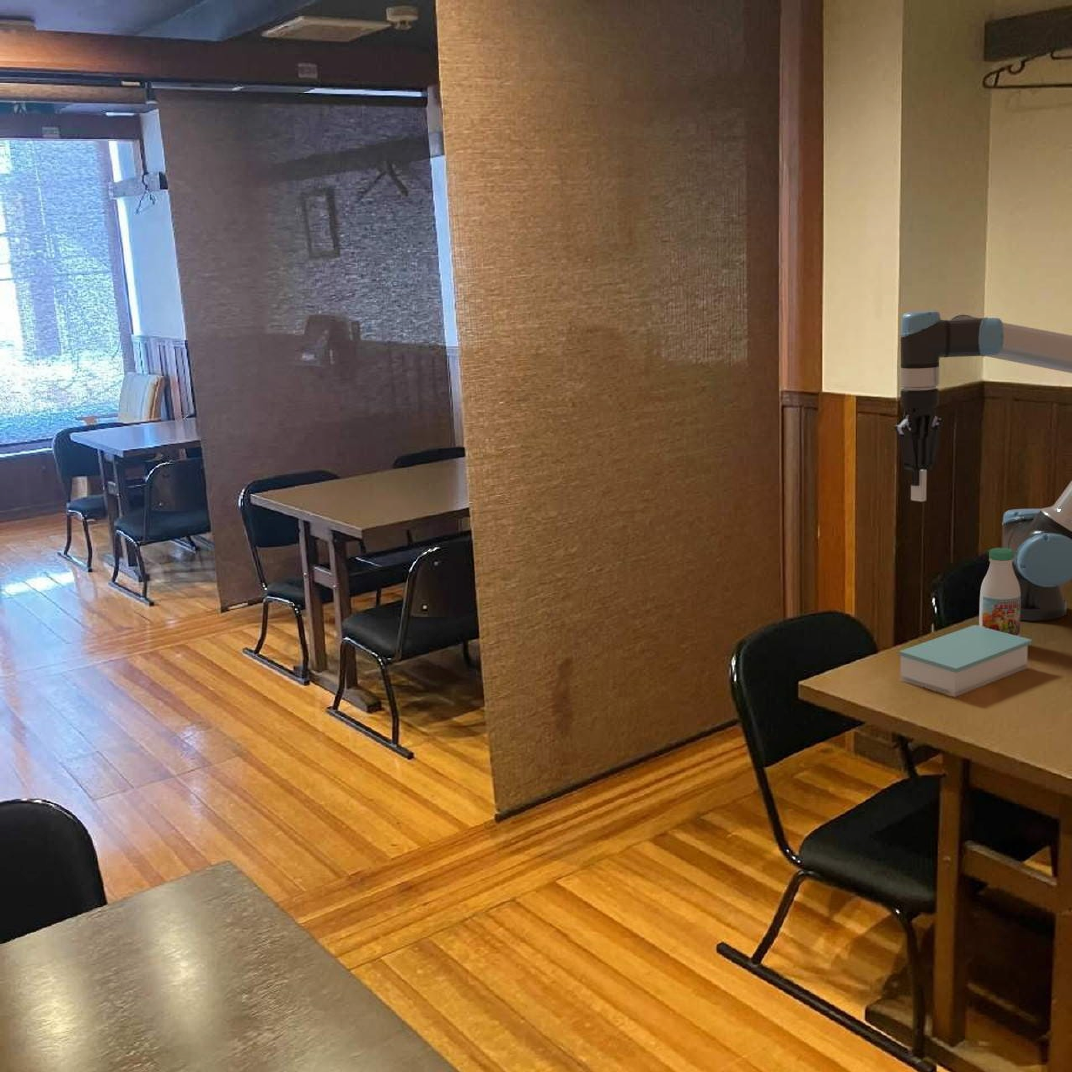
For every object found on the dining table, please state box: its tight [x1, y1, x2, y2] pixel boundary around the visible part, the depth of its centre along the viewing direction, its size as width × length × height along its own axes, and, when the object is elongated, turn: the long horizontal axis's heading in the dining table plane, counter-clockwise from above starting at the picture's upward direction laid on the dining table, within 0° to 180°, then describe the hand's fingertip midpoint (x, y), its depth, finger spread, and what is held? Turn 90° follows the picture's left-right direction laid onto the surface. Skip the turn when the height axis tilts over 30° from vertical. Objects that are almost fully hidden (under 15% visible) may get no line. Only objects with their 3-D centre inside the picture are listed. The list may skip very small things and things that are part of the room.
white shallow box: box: [900, 645, 1029, 698], centre depth 219 cm, size 22×12×5 cm, turn 124°
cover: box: [898, 624, 1033, 673], centre depth 218 cm, size 23×13×1 cm, turn 124°
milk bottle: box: [978, 547, 1021, 637], centre depth 232 cm, size 8×8×20 cm
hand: (918, 500), depth 241 cm, fingers closed
